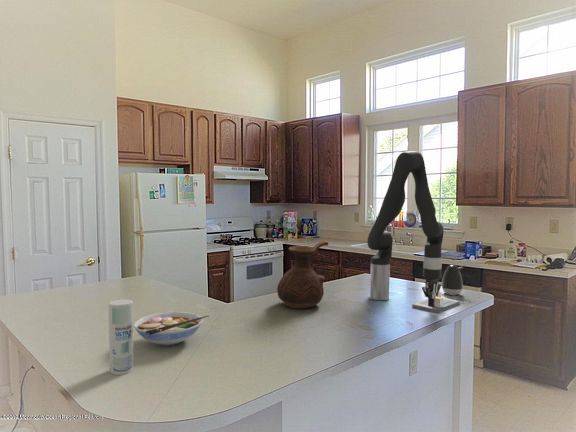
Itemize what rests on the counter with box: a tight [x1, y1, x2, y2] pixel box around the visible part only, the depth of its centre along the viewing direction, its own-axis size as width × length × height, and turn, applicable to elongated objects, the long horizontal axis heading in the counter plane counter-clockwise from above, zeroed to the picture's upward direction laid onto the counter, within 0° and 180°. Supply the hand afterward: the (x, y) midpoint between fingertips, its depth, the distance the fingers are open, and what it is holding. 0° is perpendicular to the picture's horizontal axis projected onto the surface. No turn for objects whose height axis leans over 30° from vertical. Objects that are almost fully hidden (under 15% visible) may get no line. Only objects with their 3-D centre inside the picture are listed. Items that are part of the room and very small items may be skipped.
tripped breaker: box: [434, 296, 444, 308], centre depth 189 cm, size 3×4×4 cm
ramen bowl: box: [133, 311, 210, 347], centre depth 146 cm, size 25×23×8 cm
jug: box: [276, 239, 329, 310], centre depth 194 cm, size 22×22×30 cm
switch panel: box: [411, 296, 461, 314], centre depth 196 cm, size 22×12×2 cm, turn 133°
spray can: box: [107, 299, 134, 376], centre depth 122 cm, size 6×6×20 cm
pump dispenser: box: [441, 264, 464, 296], centre depth 218 cm, size 10×10×15 cm
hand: (431, 306), depth 185 cm, fingers closed
